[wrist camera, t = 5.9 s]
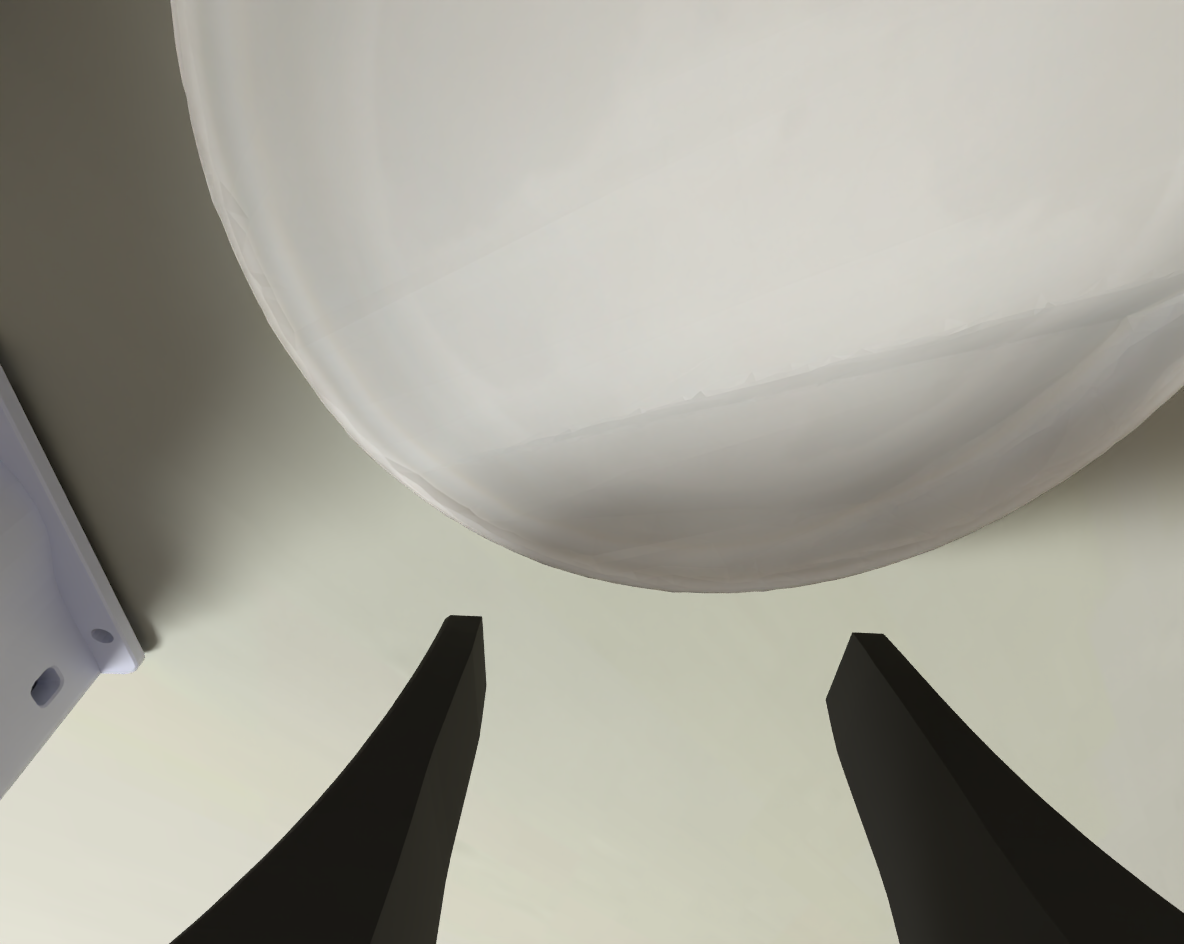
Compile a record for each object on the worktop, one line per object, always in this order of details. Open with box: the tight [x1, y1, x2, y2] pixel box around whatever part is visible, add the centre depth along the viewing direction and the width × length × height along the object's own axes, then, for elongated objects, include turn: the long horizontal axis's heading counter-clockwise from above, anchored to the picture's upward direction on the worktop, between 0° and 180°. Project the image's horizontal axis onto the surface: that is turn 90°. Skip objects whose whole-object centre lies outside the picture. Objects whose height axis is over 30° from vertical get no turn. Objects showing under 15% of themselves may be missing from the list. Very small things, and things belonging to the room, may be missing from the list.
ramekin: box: [170, 0, 1184, 593], centre depth 8 cm, size 11×11×5 cm
